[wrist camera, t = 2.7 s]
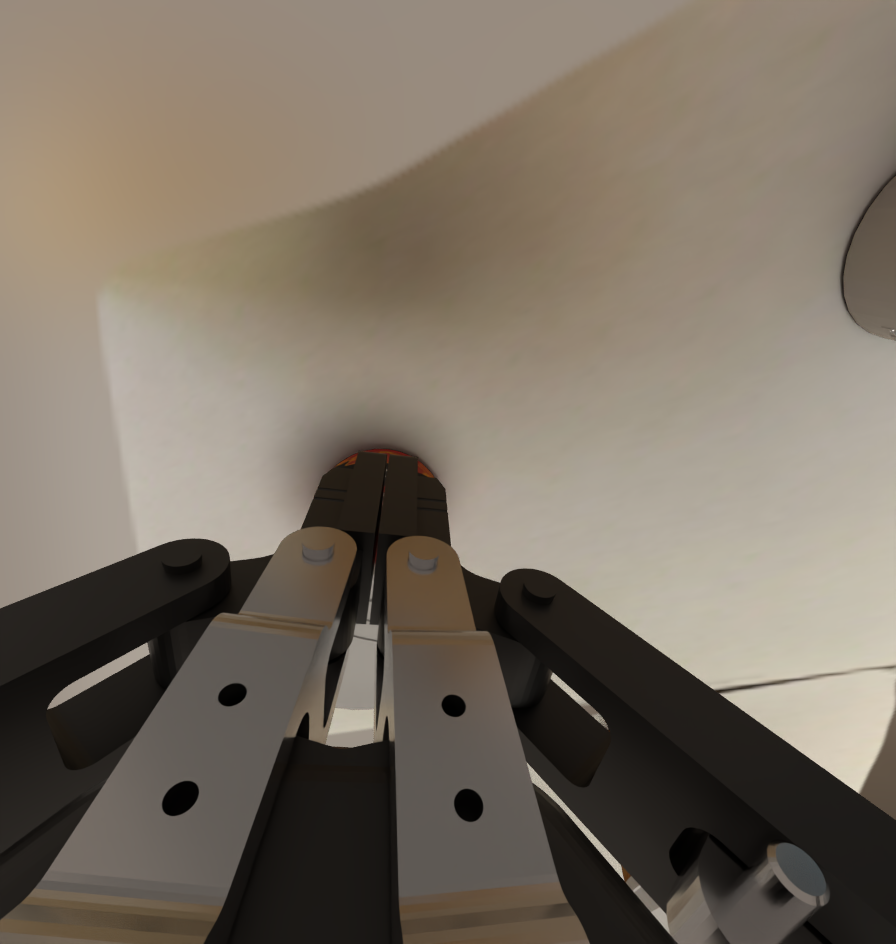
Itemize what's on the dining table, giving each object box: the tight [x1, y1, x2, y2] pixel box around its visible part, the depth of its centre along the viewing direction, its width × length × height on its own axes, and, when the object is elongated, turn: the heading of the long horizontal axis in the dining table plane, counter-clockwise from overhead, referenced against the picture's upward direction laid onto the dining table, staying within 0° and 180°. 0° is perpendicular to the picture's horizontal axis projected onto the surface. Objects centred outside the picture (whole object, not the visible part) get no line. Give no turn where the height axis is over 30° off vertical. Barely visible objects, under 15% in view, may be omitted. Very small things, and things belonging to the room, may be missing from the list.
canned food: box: [334, 449, 434, 710], centre depth 23 cm, size 8×8×11 cm
